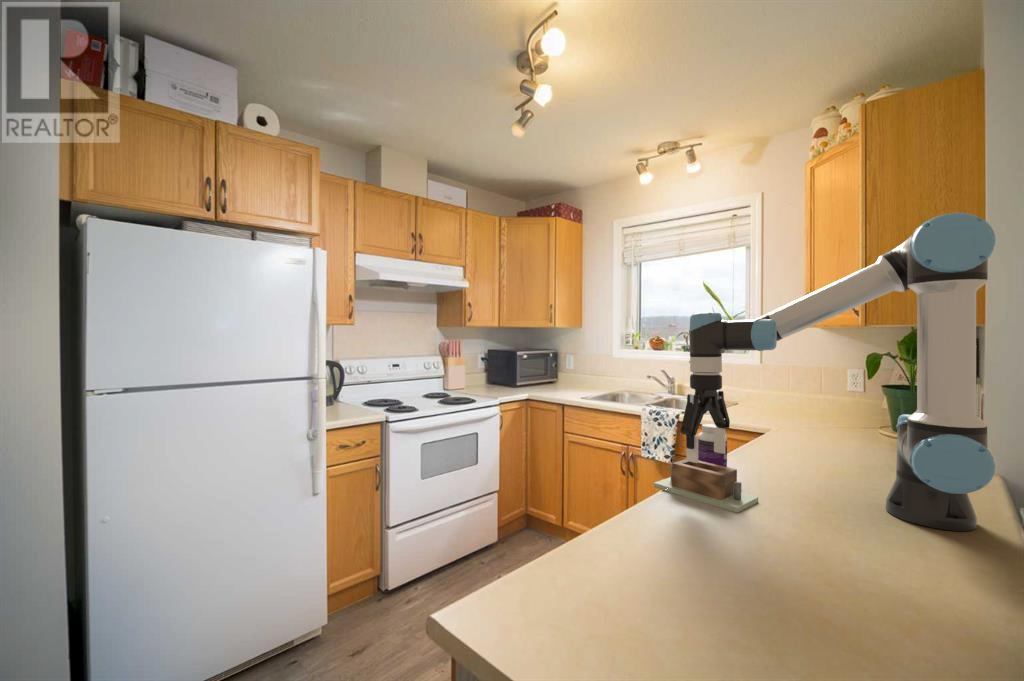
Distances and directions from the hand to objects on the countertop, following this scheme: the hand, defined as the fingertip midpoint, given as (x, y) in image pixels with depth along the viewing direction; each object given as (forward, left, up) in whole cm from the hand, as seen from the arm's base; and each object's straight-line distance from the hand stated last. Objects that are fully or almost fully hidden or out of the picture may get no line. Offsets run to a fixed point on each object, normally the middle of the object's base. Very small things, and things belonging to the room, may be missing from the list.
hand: (706, 457), depth 117 cm
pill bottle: (+7, -17, -10) cm, 21 cm away
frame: (+1, 0, -8) cm, 8 cm away
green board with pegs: (0, 0, -10) cm, 10 cm away
